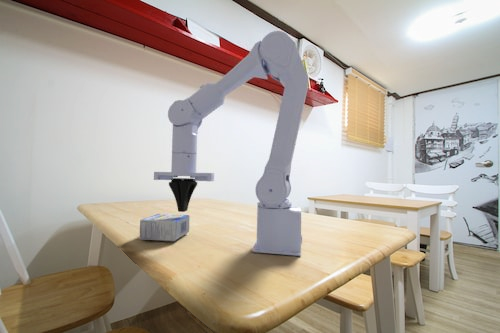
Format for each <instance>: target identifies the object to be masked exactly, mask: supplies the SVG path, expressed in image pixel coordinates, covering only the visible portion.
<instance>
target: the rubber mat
mask: <svg viewBox="0 0 500 333" xmlns="http://www.w3.org/2000/svg"><path fill="white" fill-rule="evenodd" d="M187 234H188V233H186V234H185V235H187ZM185 235H183V236H185ZM183 236H182V237H183ZM155 241H157V242H166V241H165V240H155ZM168 242H170V243H171V242H172V243H173V242H174V241H168Z"/></svg>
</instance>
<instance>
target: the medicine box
mask: <svg viewBox="0 0 500 333" xmlns="http://www.w3.org/2000/svg"><path fill="white" fill-rule="evenodd" d="M189 232H190V215H189V214H172V213H170V214H169V213H157V214H153V215H151V216H147V217H144V218H142V219H140V222H139V239H140V240H145V241H146V240H147V241H156V240H165V241H164V242H169V241H173V242H175V241H177V240H178V239H181V238H182V237H183V235H184V236H185V235H187V234H188V233H189ZM186 233H187V234H186Z"/></svg>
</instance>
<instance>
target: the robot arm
mask: <svg viewBox="0 0 500 333" xmlns="http://www.w3.org/2000/svg"><path fill="white" fill-rule="evenodd" d="M268 75H269V76H270V78H272V79H273V80H275V81H277V82H279V83H280V84H281V85H282V86H283V87H284V88H283V94H282V99H281V104H280V107H279V111H278V112H279V113H278V116H277V121H276V126H275V131H274V134H273V138H272V144H271V149H270V153H269V158H268V160H267V163H266V165H265V166H264V169H263V170H264V171H263V174H262V175H261V177H260V178H259V180H258V181H257V182H256V185H255V196H256V198H257V200H258V201H259V202H257V208H256V209H257V210H256V241H255V242H254V245H253V247H252V251H251V252H252V253H259V254H272V255H273V254H274V255H284V256H285V255H286V256H298V257H300V256H302V253H301V252H302V244H303V234H302V209H301V208H302V207H298V206H292V203H291V202H290V201H289V199H288V197H289V196H290V194H291V190H292V185H291V181H290V176H291V169H292V162H293V158H294V152H295V149H296V144H297V139H298V134H299V130H300V125H301V120H302V117H303V112H304V108H305V102H306V97H307V94H308V90H309V89H308V88H309V75H308V72H307V70H306V67H305V65H304V62H303V60H302V58H301V56H300V53H299V49H298V45H297V42H295V41H294V39H292V38H291V37H290V36H289V34H287V33H286V32H284V31H280V30H274V31H272V32H269V33H267V34H266V35H265V36H264V37H263V38H262V40H259V41H257V42H255V43H254V45H253V47H252V48H251V49H250V51H249V53H248V54H247V55H246V56H245V57H244V58H243V59H241V60H240V61H239V62H238V63H237V64H236V65H235V66H234V67H232V69H231V70H229V71H228V72H227V73H225V75H223V76H222V77H221V78H220V79H219V80H218V81H216V82H207V83H206V84H205V83H203V84H202V85H200V86H199V89H198V90H197V91H196V92H194V93H193V94H192V95H191V96H189V97H187V98H185V99H178V100H175V101H173V103H171V105H169V108H168V111H167V118H168V120H169V122H170V123H171V124H172V134H171V135H172V138H171V139H172V141H171V143H172V144H171V171H153V181H154V180H155V181H159V180H161V181H169V182H168V186H169V188H170V190H171V191H172V193H173V196H174V199H175V203H176V207H177V211H178V212H181V213H182V212H183V213H185V212H187V211H188V209H189V204H190V201H191V198H192V195H193V194H194V191H195V189H196V187H197V186H198V182H215V173H214V172H197V157H198V156H197V154H198V153H197V151H198V149H197V148H198V134H199V132H198V131H199V128H200V127H201V125H202V123H203V119H205V118H206V117H207V116H209V115H210V114H211V113H213V112H214V111H216V110H217V109H218V108H220V107H221V106H222V105H224V103H225V99H226V96H227V95H229V94H230V93H232V92H234V91H235V90H236V89H238V88H239V87H241V86H242V85H244V84H246V83H247V82H248V81H251V80H252V79H253V78H258V79H263V80H268V79H269V78H268ZM180 177H181V178H180ZM182 177H183V178H182ZM184 177H186V178H184ZM187 177H189V178H187Z"/></svg>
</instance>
